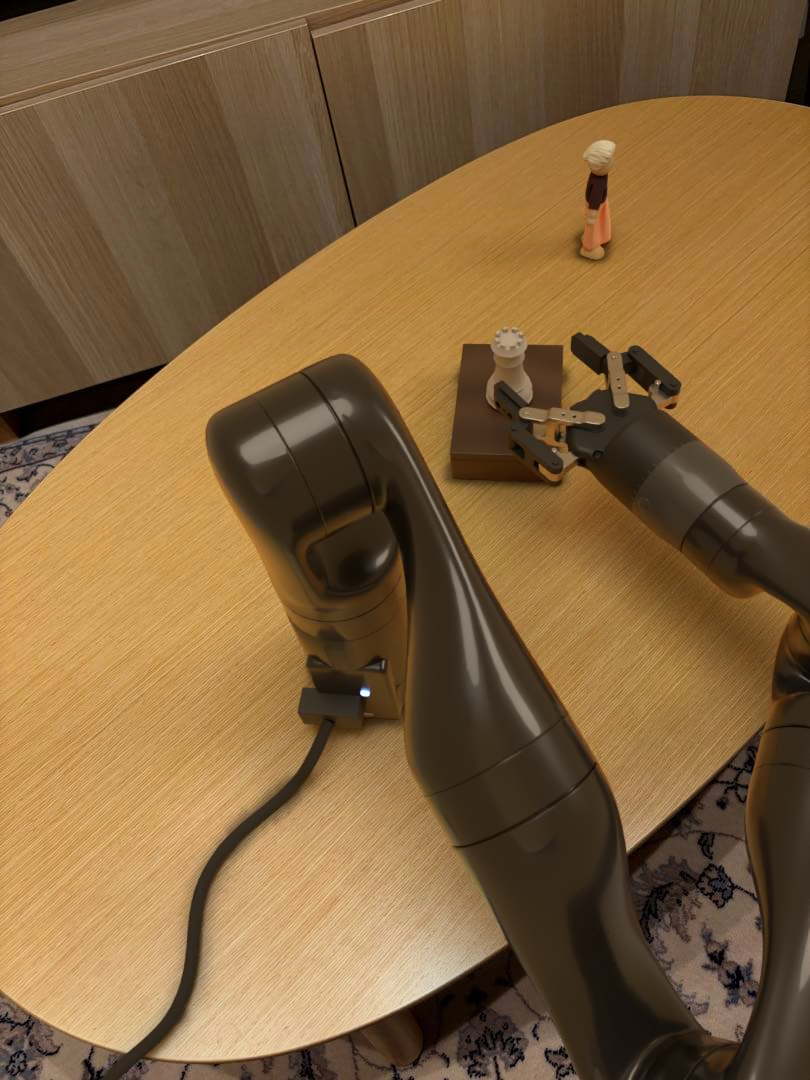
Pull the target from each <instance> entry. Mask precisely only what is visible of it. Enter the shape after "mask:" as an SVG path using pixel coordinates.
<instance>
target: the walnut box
mask: <svg viewBox="0 0 810 1080" xmlns="http://www.w3.org/2000/svg"><path fill="white" fill-rule="evenodd" d="M461 350H462V351H461V357H460V364H459V365H460V366H459V373H458V382H457V390H456V392H457V393H456V399H455V407H454V414H453V417H454V418H453V423H452V430H451V431H452V432H451V440H450V447H449V449H450V450H449V459H450V470H451V478H452V479H455V480H456V479H460V480H485V481H507V482H508V481H512V482H535V483H536V482H537V483H539V482H540V483H546V482H545V481H544V480H542V479H541V478H540V477H539V476H538V475H537V474H535V473H534V472H533V471H532V470H531V469H529V468H528V467H527V466H526V465H525V464H524V463H522V462H521V461H520V460H519V459H518V458H517V457H515V456H514V455H513V454H512V453H511V452H510V451H508V449H507V426H508V425H509V424H510V423H511V422H510V421H509V420H508V419H507V418H506V417H505V416H504V415H503V414H502V413H501V412H499V411H498V410H497V409H495V408H494V407H492V406H491V405H490V404H489V403H488V400H487V398H486V392H487V390H486V389H487V383H488V380H489V379H490V378H491V376H492V375H493V373H494V372H495V368H496V362H495V360H494V358H493V357H494V352H493V351H492V348H491V343H463V344H462V348H461ZM524 354H525V357H524V360H523V362H522V363H523V369H524V372H525V373H526V375H527V376H528V377H529V379H530V381H531V383H532V391H533V395H532V399H531V401H530V402H529V404H528V407H531V408H537V409H543V410H549V409H550V408H553V407H555V408H561V409H562V399H563V397H562V395H563V372H564V371H563V368H564V344H527V348H526V350H525V351H524ZM534 424H535V423H534ZM539 425H541V424H539ZM561 425H562V424H558V430H559V431H561ZM538 440H539V439H538ZM539 441H541V442H542V443H543V444H544V445H545V446H547V447H548V448H549V449H550V450H551V449H552V448H556V449H557V450H558V451H559V452H561V451H560V450H561V447H557V446H551V445H548V444H547V443H546V442H545V441H543V440H539Z"/></svg>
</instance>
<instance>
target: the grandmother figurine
mask: <svg viewBox="0 0 810 1080" xmlns="http://www.w3.org/2000/svg"><path fill="white" fill-rule="evenodd" d="M615 152H616V144H615V142H613V141H612V140H607V139H601V140H597V141H594V142H593V143H592V144H591V145H590V146H588V147H587V148H586V149H585V151H584V152H583V154H582V157H581V158H582V161H584V162H586V164H587V167H588V168H589V170H590V173H589V176H588V179H587V182H586V188H585V192H584V193H585V194H584V196H585V197H584V198H585V206H584V207H585V228H584V233H583V234H582V235H581V236H580V242H581V243H582V247H581V248H580V250H579V255H580V256H582V257H585V258H588V259H591V260H601V259H602V258H604V256H605V249H604V248H603V247H602V246H601V245H603V244H606V243H608V242H609V241H610V240H611V238H612V218H611V211H610V204H609V198H608V181H609V173H610V172H611V171H612V169H613V168H614V165H615V158H614V154H615Z"/></svg>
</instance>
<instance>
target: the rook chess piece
mask: <svg viewBox="0 0 810 1080" xmlns="http://www.w3.org/2000/svg"><path fill="white" fill-rule="evenodd" d="M501 328H502V329H501V330H502V331H501V330H500V329H497V331H496V332H495V333H494V337H492V339H491V341H490V344H491V348H492V351H493V352H494V357H493V358H494V360H495V362H496V368H495V372H494V373H493V375H492V376H491V378H490V379H489V380H488V383H487V389H486V390H487V392H486V398H487V400H488V403H489V404H490V405H491V406H492V407H494V408H495V409H496V407H495V405H494V384H496V383H498V382H499V381H501V380H502V381H504V382H505V383H506V384H507V385H508V386H509V387H511V388H512V389H513V390H514V391H515V392H516V393H517V394H518V395H519V396H520V397H522V398H523V399H524V400H525V401H526V402H527V403H528V404H529V402H530V401H531V399H532V395H533V391H532V383H531V381H530V379H529V377H528V376H527V375H526V373H525V372H524V369H523V363H522V362H523V360H524V357H525V354H524V351H525V350H526V348H527V345H528V343H529V342H528V340H527V338H526V337H525V336H524V333H523V330H521V331H519V327H516V326H512V328H511V329H509V326H508V325H506V326H503V327H501Z"/></svg>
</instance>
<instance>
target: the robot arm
mask: <svg viewBox="0 0 810 1080" xmlns="http://www.w3.org/2000/svg"><path fill="white" fill-rule="evenodd" d="M569 349H570V352H571V354H572V355H573V356H574V357H575V358H577V359H578V360H579V361H580V362H582V364H584V365H585V366H586V367H588V368H589V369H590V370H591V371H592V372H593V373H595V374H596V375H597V376H601V375H602V374H603V375H604V385H605V389H601V388H598V389H597V388H596V390H594V391H592V392H591V393H590V394H589V396H587V398H585V399H583V400H580V401H577V402H576V403H574V404H573V405H571V406H569V409H566V408H562V407H561V408H555V407H553V408H550V409H549V410H543V409H537V408H531V407H528V403H527V402H526V401H525V400H524V399H523V398H522V397H520V396H519V395H518V394H517V393H516V392H515V391H514V390H513V389H512V388H511V387H509V386H508V385H507V384H506V383H505V382H504V381H502V380H501V381H499V382H498V383H496V384H494V405H495V407H496V409H497V410H498V411H499V412H501V413H502V414H503V415H504V416H505V417H506V418H507V419H508V420H509V421H510V422H511V423H510V424H509V425H508V426H507V449H508V451H510V452H511V453H512V454H513V455H514V456H515V457H517V458H518V459H519V460H520V461H521V462H522V463H524V464H525V465H526V466H527V467H528V468H529V469H531V470H532V471H533V472H534V473H535V474H537V475H538V476H539V477H540V478H541V479H542V480H544V481H545V482H544V483H546V484H547V485H548V486H550V487H552V488H557V487H560V486H561V485H562V483H563V476H564V475H566V474H567V473H568V472H570V471H571V470H572V469H573V468H575V467H576V466H577V467H578V468H579V467H580V468H583V469H585V470H587V471H589V472H590V473H591V474H592V475H593V477H594V478H595V479H596V481H597V482H598V483H599V484H600V485H601V486H602V487H603V488H604V489H606V490H607V491H608V492H609V493H610V494H611V495H612V496H613V497H614V498H615V499H616V500H617V501H619V503H620V504H622V505H623V507H625V508H626V509H627V510H628V511H630V512H631V514H632V515H634V516H635V517H636V518H637V519H638V520H639V521H640V522H642V524H643V525H644V526H646V527H647V528H648V529H649V531H651V532H652V533H654V535H656V536H657V537H658V538H659V539H661V540H662V541H664V542H665V543H667V544H668V545H669V546H671V547H672V548H674V549H675V550H677V551H678V552H679V553H680V554H681V555H683V556H684V557H685V558H686V559H687V560H688V561H689V562H690V563H691V564H692V565H694V566H695V567H696V568H697V569H698V570H699V571H700V572H701V573H702V574H703V575H704V576H705V577H706V578H707V579H708V580H709V581H710V582H712V583H713V584H714V585H715V586H716V587H717V588H719V589H720V590H721V591H723V592H724V593H726V594H727V595H729V596H730V597H733V598H735V599H739V600H748V599H752V598H755V597H757V596H759V595H761V594H763V593H765V594H767V595H769V596H770V597H773V598H775V599H776V600H778V601H780V602H781V603H783V604H784V605H786V606H787V607H789V608H790V609H791V610H792V611H794V612H793V613H792V615H791V616H790V618H789V619H788V621H787V623H786V625H785V626H784V628H783V631H782V633H781V636H780V639H779V641H778V645H777V650H776V652H775V656H774V662H773V668H772V676H771V686H770V695H769V696H770V697H769V698H770V699H769V713H768V716H767V719H766V722H765V724H764V728H763V730H762V734H761V738H760V742H759V745H758V748H757V752H756V755H755V761H754V764H753V769H752V772H751V777H750V782H749V785H748V790H747V794H746V800H745V807H744V818H743V819H744V820H743V821H744V823H743V827H744V829H743V831H744V833H743V834H744V842H745V850H746V856H747V861H748V865H749V870H750V875H751V878H752V883H753V887H754V891H755V896H756V900H757V906H758V911H759V916H760V925H761V927H760V928H761V938H762V952H761V953H762V955H761V956H762V958H761V970H760V975H759V976H760V977H759V982H758V987H757V991H756V995H755V999H754V1003H753V1006H752V1009H751V1013H750V1016H749V1019H748V1022H747V1025H746V1028H745V1031H744V1033H743V1036H742V1039H741V1042H739V1041H736V1040H731V1039H727V1038H723V1037H718V1036H715V1035H712V1034H710V1033H709V1032H708V1031H707V1029H706V1028H704V1027H703V1026H702V1025H701V1024H700V1022H699V1021H698V1020H697V1018H696V1017H695V1016H694V1015H693V1013H692V1012H691V1010H690V1009H689V1008H688V1007H687V1005H686V1003H685V1002H684V1000H683V999H682V998H681V996H680V995H679V993H678V992H677V991H676V989H675V987H674V985H673V984H672V982H671V981H670V979H669V977H668V975H667V974H666V973H665V971H664V969H663V967H662V965H661V964H660V962H659V961H658V959H657V958H656V956H655V954H654V952H653V950H652V948H651V946H650V944H649V942H648V941H647V940H648V939H646V936H645V934H644V931H643V929H642V927H641V924H640V922H639V919H638V916H637V912H636V909H635V904H634V898H633V893H632V887H631V878H630V867H629V858H628V852H627V845H626V837H625V832H624V831H625V830H624V826H623V825H624V824H623V821H622V817H621V812H620V810H619V805H618V802H617V799H616V796H615V792H614V790H613V788H612V785H611V784H610V781H609V780H608V777H607V776H606V773H605V771H604V769H603V768H602V766H601V764H600V763H599V761H598V759H597V757H596V755H595V753H594V752H593V750H592V749H591V747H590V746H589V743H588V742H587V740H586V739H585V737H584V735H583V734H582V732H581V730H580V729H579V727H578V725H577V723H576V722H575V720H574V718H573V717H572V715H571V714H570V712H569V710H568V709H567V707H566V705H565V704H564V702H563V700H562V699H561V697H560V695H558V693H557V691H556V689H555V688H554V687H553V685H552V683H551V682H550V680H549V678H548V677H547V675H546V674H545V673H544V671H543V670H542V668H541V666H540V664H538V661H537V660H536V659H535V656H533V653H532V651H530V649H529V648H528V646H527V644H526V643H525V641H524V640H523V637H522V636H521V635H520V633H519V631H518V630H517V628H516V626H515V624H514V623H513V621H512V620H511V618H510V616H509V615H508V613H507V611H506V610H505V608H504V607H503V605H502V604H501V602H500V601H499V598H498V597H497V595H496V593H495V592H494V590H493V588H492V586H491V585H490V583H489V582H488V580H487V578H486V576H485V575H484V572H483V571H482V569H481V568H480V566H479V564H478V562H477V560H476V558H475V556H474V554H473V552H472V551H471V548H470V547H469V544H468V542H467V541H466V539H465V537H464V534H463V533H462V531H461V529H460V527H459V525H458V523H457V521H456V519H455V517H454V515H453V513H452V511H451V509H450V507H449V505H448V503H447V502H446V500H445V498H444V495H443V493H442V492H441V490H440V488H439V486H438V484H437V482H436V480H435V478H434V476H433V474H432V472H431V470H430V467H429V466H428V464H427V462H426V460H425V458H424V456H423V454H422V452H421V450H420V449H419V446H418V445H417V442H416V441H415V439H414V436H413V435H412V433H411V431H410V429H409V426H408V425H407V424H406V421H405V419H404V418H403V417H402V414H401V412H400V411H399V409H398V407H397V405H396V404H395V402H394V400H393V399H392V397H391V395H390V393H389V391H388V390H387V388H386V387H385V386H384V385H383V383H382V381H380V379H379V378H378V377H377V376H376V375H375V373H374V372H373V371H372V369H371V368H370V367H368V365H366V363H364V362H363V361H362V360H360V359H359V358H358V357H356V356H354V355H353V354H350V353H345V352H343V353H336V354H334V355H330V356H328V357H325V358H323V359H321V360H318V361H316V362H314V363H312V364H309V365H307V366H305V367H304V368H301V369H299V370H298V371H296V372H293V373H291V374H289V375H287V376H284V377H283V378H281V379H279V380H276V381H274V382H273V383H271V384H269V385H267V386H265V387H263V388H261V389H258V390H256V391H254V392H252V393H251V394H249V395H246V396H245V397H243V398H241V399H238V400H236V401H235V402H232V403H231V404H229V405H226V406H225V407H223V408H221V409H219V410H218V411H216V412H214V413H213V414H212V415H211V416H210V417H209V419H208V421H207V423H206V426H205V429H204V443H205V449H206V454H207V457H208V461H209V464H210V467H211V469H212V472H213V475H214V478H215V479H216V481H217V483H218V485H219V487H220V489H221V491H222V493H223V495H224V497H225V498H226V500H227V502H228V504H229V506H230V507H231V510H233V512H234V514H235V516H236V518H237V519H238V521H239V523H240V524H241V526H242V527H243V529H244V531H245V533H246V534H247V536H248V538H249V539H250V541H251V543H252V544H253V546H254V548H255V550H256V551H257V555H258V556H259V558H260V560H261V563H262V564H263V567H264V569H265V571H266V574H267V575H268V578H269V581H270V583H271V585H272V587H273V589H274V591H275V593H276V596H277V598H278V599H279V602H280V604H281V606H282V608H283V611H284V612H285V614H286V617H287V619H288V621H289V623H290V625H291V627H292V630H293V631H294V633H295V636H296V637H297V641H298V642H299V644H300V646H301V648H302V650H303V653H304V654H305V656H306V661H305V669H306V672H307V673H308V676H309V677H310V680H311V681H312V684H313V686H314V687H307V686H302V688H301V693H300V697H299V703H298V707H297V715H298V716H299V718H300V720H301V722H302V723H303V725H309V726H310V725H311V726H319V729H318V731H317V733H316V735H315V738H314V739H313V742H312V744H311V747H310V748H309V751H308V752H307V755H306V756H305V758H304V760H303V762H302V763H301V765H300V767H299V768H298V770H297V771H296V773H295V774H294V775H293V776H292V777H291V779H289V781H287V782H286V784H285V785H284V786H283V787H282V788H280V790H279V791H277V793H276V794H275V795H274V796H273V797H271V798H270V799H269V800H267V802H265V803H264V804H263V805H261V807H259V808H258V809H257V810H255V811H254V812H253V813H251V815H249V816H248V817H247V818H245V820H244V821H242V822H241V823H240V824H239V825H237V827H236V828H234V829H233V830H232V831H231V832H230V833H229V834H228V835H227V836H226V837H225V839H223V841H221V842H220V844H219V845H218V847H217V848H216V849H215V850H214V851H213V853H212V854H211V856H210V857H209V858H208V860H207V863H206V864H205V866H204V867H203V869H202V871H201V873H200V874H199V875H200V876H199V878H198V879H197V881H196V885H195V887H194V890H193V894H192V899H191V902H190V908H189V913H188V922H187V933H186V947H185V956H184V963H183V970H182V974H181V978H180V982H179V985H178V987H177V992H176V993H175V996H174V998H173V1000H172V1003H171V1004H170V1007H169V1008H168V1010H167V1012H166V1014H165V1015H164V1016H163V1018H162V1019H161V1020H160V1021H159V1022H158V1024H157V1025H156V1026H155V1027H154V1028H153V1029H152V1030H151V1031H150V1032H149V1033H148V1034H147V1035H146V1036H145V1037H143V1039H142V1040H140V1041H139V1042H138V1043H137V1044H136V1045H134V1046H133V1047H132V1048H131V1049H129V1050H128V1051H127V1052H126V1053H125V1054H124V1055H123V1056H121V1057H120V1058H119V1059H118V1060H117V1061H116V1062H115V1063H114V1064H113V1065H112V1066H111V1067H110V1068H109V1069H107V1071H106V1073H105V1074H104V1075H103V1076H102V1078H101V1080H120V1079H121V1078H122V1077H123V1076H124V1075H125V1074H126V1073H127V1072H128V1071H129V1070H131V1069H132V1068H133V1067H134V1066H136V1064H138V1063H139V1061H141V1060H142V1059H143V1058H144V1057H146V1056H148V1054H149V1053H151V1052H152V1050H154V1048H156V1047H157V1046H158V1045H159V1044H160V1043H161V1042H162V1041H163V1040H164V1039H165V1037H166V1036H168V1034H169V1033H170V1032H171V1031H172V1030H173V1028H174V1027H175V1025H176V1024H177V1023H178V1021H179V1019H180V1017H181V1016H182V1014H183V1012H184V1009H185V1008H186V1005H187V1003H188V1001H189V999H190V996H191V994H192V990H193V987H194V983H195V979H196V975H197V971H198V965H199V964H198V963H199V954H200V941H201V929H202V919H203V912H204V905H205V900H206V897H207V894H208V890H209V888H210V886H211V883H212V881H213V879H214V877H215V874H216V873H217V871H218V869H219V868H220V866H221V864H222V863H223V862H224V860H225V859H226V858H227V856H228V855H229V854H230V852H231V851H232V850H233V849H234V848H235V847H236V846H237V845H238V844H239V843H240V842H241V841H242V840H243V839H244V838H246V836H247V835H249V834H250V833H251V832H252V831H253V830H254V829H256V828H257V827H258V826H259V825H260V824H261V823H263V822H264V821H265V820H266V819H267V818H269V817H270V816H271V815H272V814H274V813H275V812H276V811H277V810H279V809H280V808H281V807H282V806H283V805H284V804H285V803H286V802H288V800H289V799H291V798H292V796H293V795H294V794H295V793H296V792H297V791H298V790H299V789H300V788H301V786H302V785H304V783H306V781H307V780H308V779H309V777H310V775H311V774H312V773H313V771H314V769H315V767H316V765H317V764H318V762H319V760H320V758H321V756H322V754H323V752H324V750H325V748H326V745H327V744H328V741H329V738H330V736H331V735H332V732H333V730H334V728H344V729H345V728H346V729H357V730H362V729H363V723H364V718H375V719H376V718H377V719H388V720H389V719H390V720H399V719H401V717H402V716H403V717H402V719H403V720H402V721H403V722H402V726H403V727H402V729H403V743H404V745H403V746H404V753H405V758H406V763H407V767H408V770H409V773H410V776H411V778H412V779H413V781H414V783H415V784H416V786H417V788H418V790H419V792H420V794H421V795H422V798H423V800H424V801H425V803H426V805H427V806H428V808H429V810H430V813H431V814H432V816H433V817H434V819H435V821H436V823H437V824H438V826H439V828H440V830H441V832H442V833H443V835H444V837H445V839H446V841H447V842H448V844H449V845H450V847H451V849H452V851H453V853H454V854H455V856H456V858H457V859H458V860H459V862H460V864H461V865H462V867H463V868H464V870H465V872H466V873H467V875H468V876H469V878H470V880H471V881H472V883H473V885H474V886H475V888H476V890H477V892H478V893H479V895H480V897H481V899H482V900H483V902H484V904H485V906H486V907H487V909H488V911H489V913H490V914H491V917H492V918H493V920H494V923H496V925H497V927H498V929H499V930H500V932H501V934H502V936H503V938H504V939H505V941H506V943H507V945H508V946H509V948H510V949H511V951H512V953H513V954H514V956H515V958H516V960H517V961H518V963H519V965H520V966H521V968H522V970H523V971H524V973H525V975H526V976H527V978H528V979H529V981H530V983H531V984H532V986H533V988H534V990H535V991H536V993H537V995H538V996H539V998H540V1000H541V1002H542V1003H543V1005H544V1007H545V1010H546V1011H547V1014H548V1015H549V1018H550V1019H551V1021H552V1023H553V1025H554V1028H555V1030H556V1032H557V1034H558V1037H559V1038H560V1041H561V1042H562V1045H563V1048H564V1050H565V1051H566V1054H567V1056H568V1058H569V1061H570V1063H571V1065H572V1068H573V1070H574V1072H575V1074H576V1076H577V1079H578V1080H810V527H809V526H806V525H804V524H802V523H799V522H797V521H796V520H793V519H791V518H790V517H789V516H788V515H787V514H786V513H785V512H783V510H781V509H780V508H779V507H778V506H777V505H776V504H774V503H773V502H772V501H771V500H769V499H768V498H767V497H766V496H764V495H763V494H762V493H761V492H759V490H757V489H756V488H754V487H753V486H752V485H751V484H750V483H748V481H746V480H745V479H744V478H743V477H742V476H741V475H740V474H739V472H738V471H737V470H736V469H735V468H734V467H733V466H732V464H730V463H729V462H728V461H727V460H726V459H725V458H723V456H721V455H719V454H718V453H717V452H716V451H715V450H714V449H713V448H711V447H710V446H709V445H707V444H706V443H705V442H704V441H702V440H701V439H700V438H699V437H698V436H696V435H695V434H694V433H693V432H692V431H690V430H689V429H688V428H687V427H686V426H685V425H683V424H682V423H681V422H679V421H678V420H677V419H676V418H674V417H673V416H672V415H670V414H669V413H668V411H665V410H663V409H666V410H674V409H676V408H677V405H678V403H679V399H680V395H681V389H682V382H681V380H679V379H678V377H675V375H674V374H673V373H671V372H670V371H669V370H668V369H667V368H666V367H664V366H663V365H662V364H661V363H660V362H659V361H658V360H656V359H655V358H654V357H653V356H652V355H651V354H649V353H648V352H647V351H646V350H645V349H644V348H643V347H641V346H640V345H631V346H629V347H628V350H626V351H623V352H619V351H613V350H612V351H611V350H610V349H609V348H607V346H605V345H604V344H603V343H601V342H600V341H599V340H598V339H597V338H595V337H594V336H592V335H589V334H584V333H582V332H580V331H578V332H576V333H575V334H573V335H572V336H571V337H570V348H569ZM626 375H628V377H630V378H631V379H632V380H633V381H634V382H635V383H637V384H638V385H639V387H640V388H642V389H643V391H645V392H646V393H647V395H643V394H640V393H639V394H638V393H633V392H628V386H627V385H628V384H627V377H626ZM534 423H535V424H534ZM539 424H541V425H539ZM558 424H561V425H563V426H565V431H561V430H560V431H559V430H558ZM538 439H539V440H543V441H545V442H546V443H547V444H548V445H551V446H557V447H560V448H563V449H567V452H561V451H560V452H559V451H558V450H557V449H556V448H552V449H551V450H550V449H549V448H548V447H547V446H545V445H544V444H543V443H542V442H541V441H539V440H538ZM402 714H403V715H402Z"/></svg>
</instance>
